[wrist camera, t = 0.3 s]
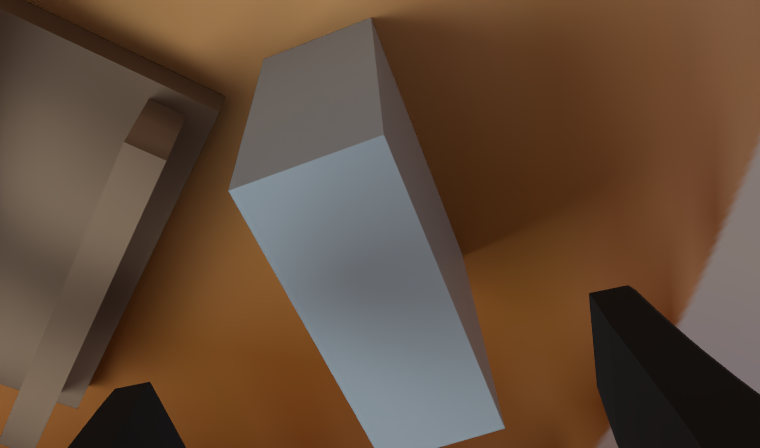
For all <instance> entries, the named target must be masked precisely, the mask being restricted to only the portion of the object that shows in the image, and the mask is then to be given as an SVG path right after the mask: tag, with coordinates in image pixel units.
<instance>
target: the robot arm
mask: <svg viewBox="0 0 760 448" xmlns="http://www.w3.org/2000/svg"><path fill="white" fill-rule="evenodd" d="M589 300H590V311H591V323H592V334H593V345H594V357H595V368H596V380H597V387H598V390H599V393H600V396H601V399H602V402H603V405H604V408H605V411H606V414H607V417H608V420H609V423H610V426H611V428H612V431H613V434H614V437H615V440H616V442H617V445H618V447H619V448H760V394H759V393H757V392H756V391H754V390H753V389H752V388H750V387H749V386H748V385H746V384H745V383H744V382H742V381H741V380H740V379H738V378H737V377H736V376H735V375H733V374H732V373H731V372H730V371H728V370H727V369H726V368H725V367H723V366H722V365H721V364H720V363H718V362H717V361H716V360H715V359H713V358H712V357H711V356H710V355H708V354H707V353H706V352H705V351H703V350H702V349H701V348H700V347H699V346H697V345H696V344H695V343H694V342H693V341H691V340H690V339H689V338H688V337H687V336H686V335H684V334H683V333H682V332H681V331H680V330H679V329H678V328H676V327H675V326H674V325H673V324H672V323H671V322H670V321H668V320H667V319H666V318H665V317H664V316H663V315H662V314H661V313H660V312H659V311H657V310H656V309H655V308H654V307H653V306H652V305H651V304H650V303H649V302H648V301H647V300H646V299H644V298H643V297H642V296H641V295H640V294H639V293H638V292H637V291H636V290H635V289H633V288H632V287H630V286H629V285H627V286H622V287H617V288H612V289H607V290H603V291H598V292H593V293H589ZM68 448H186V447H185V445H184V443H183V441H182V440H181V438H180V436H179V434H178V432H177V430H176V429H175V427H174V425H173V423H172V421H171V419H170V418H169V416H168V414H167V412H166V410H165V408H164V407H163V405H162V403H161V401H160V399H159V397H158V396H157V394H156V392H155V390H154V388H153V386H152V385H151V383H150V382H147V383H142V384H137V385H132V386H127V387H122V388H117V389H114V391H113V392H112V393H111V394H110V395H109V397H108V398H107V399H106V400H105V401H104V402H103V404H102V405H101V406H100V407H99V409H98V410H97V411H96V412H95V414H94V415H93V416H92V417H91V419H90V420H89V421H88V423H87V424H86V425H85V426H84V428H83V429H82V430H81V431H80V433H79V434H78V435H77V437H76V438H75V439H74V440H73V442H72V443H71V444H70V446H69V447H68Z"/></svg>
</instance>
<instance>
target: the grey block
mask: <svg viewBox="0 0 760 448" xmlns="http://www.w3.org/2000/svg"><path fill="white" fill-rule="evenodd" d="M228 191H229V193H230V195H231V196H232V198H233V200H234V202H235V203H236V205H237V207H238V209H239V210H240V212H241V214H242V216H243V217H244V219H245V221H246V223H247V225H248V226H249V228H250V230H251V232H252V233H253V235H254V237H255V239H256V240H257V242H258V244H259V246H260V247H261V249H262V251H263V253H264V254H265V256H266V258H267V260H268V262H269V263H270V265H271V267H272V269H273V270H274V272H275V274H276V276H277V277H278V279H279V281H280V283H281V284H282V286H283V288H284V290H285V291H286V293H287V295H288V297H289V299H290V300H291V302H292V304H293V306H294V307H295V309H296V311H297V313H298V314H299V316H300V318H301V320H302V321H303V323H304V325H305V327H306V328H307V330H308V332H309V334H310V336H311V337H312V339H313V341H314V343H315V344H316V346H317V348H318V350H319V351H320V353H321V355H322V357H323V358H324V360H325V362H326V364H327V365H328V367H329V369H330V371H331V372H332V374H333V376H334V378H335V380H336V381H337V383H338V385H339V387H340V388H341V390H342V392H343V394H344V395H345V397H346V399H347V401H348V402H349V404H350V406H351V408H352V409H353V411H354V413H355V415H356V417H357V418H358V420H359V422H360V424H361V425H362V427H363V429H364V431H365V432H366V434H367V436H368V438H369V439H370V441H371V443H372V445H373V446H374V448H438V447H442V446H445V445H449V444H452V443H456V442H459V441H463V440H466V439H470V438H473V437H477V436H480V435H484V434H487V433H491V432H494V431H498V430H501V429H505V427H504V423H503V419H502V414H501V410H500V406H499V402H498V398H497V394H496V390H495V386H494V382H493V378H492V373H491V369H490V365H489V361H488V357H487V353H486V349H485V345H484V341H483V337H482V332H481V328H480V324H479V320H478V316H477V312H476V308H475V304H474V300H473V296H472V291H471V287H470V283H469V279H468V275H467V271H466V267H465V263H464V259H463V255H462V253H461V250H460V247H459V245H458V242H457V240H456V237H455V234H454V232H453V229H452V227H451V224H450V221H449V219H448V216H447V214H446V211H445V208H444V206H443V203H442V201H441V198H440V195H439V193H438V190H437V188H436V185H435V183H434V180H433V177H432V175H431V172H430V170H429V167H428V164H427V162H426V159H425V157H424V154H423V151H422V149H421V146H420V144H419V141H418V138H417V136H416V133H415V131H414V128H413V125H412V123H411V120H410V118H409V115H408V112H407V110H406V107H405V105H404V102H403V99H402V97H401V94H400V92H399V89H398V87H397V84H396V81H395V79H394V76H393V74H392V71H391V68H390V66H389V63H388V61H387V58H386V55H385V53H384V50H383V48H382V45H381V42H380V40H379V37H378V35H377V32H376V29H375V27H374V24H373V22H372V19H371V18H369V19H366V20H363V21H361V22H358V23H356V24H353V25H350V26H348V27H345V28H343V29H340V30H338V31H335V32H332V33H330V34H327V35H325V36H322V37H320V38H317V39H314V40H312V41H309V42H307V43H304V44H302V45H299V46H296V47H294V48H291V49H289V50H286V51H283V52H281V53H278V54H276V55H273V56H271V57H268V58H265V59H264V60H263V64H262V67H261V71H260V75H259V79H258V82H257V86H256V90H255V93H254V97H253V101H252V105H251V108H250V112H249V116H248V119H247V123H246V127H245V131H244V134H243V138H242V142H241V145H240V149H239V153H238V157H237V160H236V164H235V168H234V172H233V175H232V179H231V183H230V186H229V190H228Z"/></svg>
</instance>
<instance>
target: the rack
mask: <svg viewBox="0 0 760 448" xmlns="http://www.w3.org/2000/svg"><path fill="white" fill-rule="evenodd" d="M224 98H225V96H222V95H220V94H218V93H216V92H214V91H212V90H210V89H208V88H206V87H204V86H202V85H199V84H197V83H195V82H193V81H191V80H189V79H187V78H185V77H183V76H181V75H179V74H176V73H174V72H172V71H170V70H168V69H166V68H164V67H162V66H160V65H158V64H156V63H153V62H151V61H149V60H147V59H145V58H143V57H141V56H139V55H137V54H135V53H133V52H130V51H128V50H126V49H124V48H122V47H120V46H118V45H116V44H114V43H112V42H110V41H108V40H105V39H103V38H101V37H99V36H97V35H95V34H93V33H91V32H89V31H87V30H85V29H82V28H80V27H78V26H76V25H74V24H72V23H70V22H68V21H66V20H64V19H62V18H59V17H57V16H55V15H53V14H51V13H49V12H47V11H45V10H43V9H41V8H39V7H36V6H34V5H32V4H30V3H28V2H26V1H24V0H0V384H2V385H5V386H8V387H11V388H14V389H17V390H20V392H19V394H18V396H17V399H16V401H15V404H14V406H13V408H12V411H11V413H10V416H9V418H8V420H7V423H6V425H5V428H4V430H3V432H2V435H1V437H0V444H1V445H4V446H8V447H11V448H36V445H37V443H38V441H39V439H40V437H41V434H42V432H43V430H44V428H45V426H46V423H47V421H48V419H49V417H50V415H51V413H52V410H53V408H54V406H55V404H56V402H57V403H61V404H64V405H67V406H70V407H73V408H76V409H77V408H78V406H79V404H80V402H81V400H82V398H83V396H84V394H85V391H86V389H87V387H88V385H89V383H90V381H91V379H92V377H93V375H94V373H95V371H96V369H97V366H98V364H99V362H100V360H101V358H102V356H103V354H104V352H105V350H106V348H107V346H108V344H109V341H110V339H111V337H112V335H113V333H114V331H115V329H116V327H117V325H118V323H119V321H120V319H121V316H122V314H123V312H124V310H125V308H126V306H127V304H128V302H129V300H130V298H131V296H132V294H133V291H134V289H135V287H136V285H137V283H138V281H139V279H140V277H141V275H142V273H143V271H144V269H145V266H146V264H147V262H148V260H149V258H150V256H151V254H152V252H153V250H154V248H155V246H156V244H157V241H158V239H159V237H160V235H161V233H162V231H163V229H164V227H165V225H166V223H167V221H168V219H169V216H170V214H171V212H172V210H173V208H174V206H175V204H176V202H177V200H178V198H179V196H180V194H181V192H182V189H183V187H184V185H185V183H186V181H187V179H188V177H189V175H190V173H191V171H192V169H193V167H194V164H195V162H196V160H197V158H198V156H199V154H200V152H201V150H202V148H203V146H204V144H205V142H206V139H207V137H208V135H209V133H210V131H211V129H212V127H213V125H214V123H215V121H216V119H217V117H218V114H219V112H220V110H221V107H222V104H223V101H224Z"/></svg>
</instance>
